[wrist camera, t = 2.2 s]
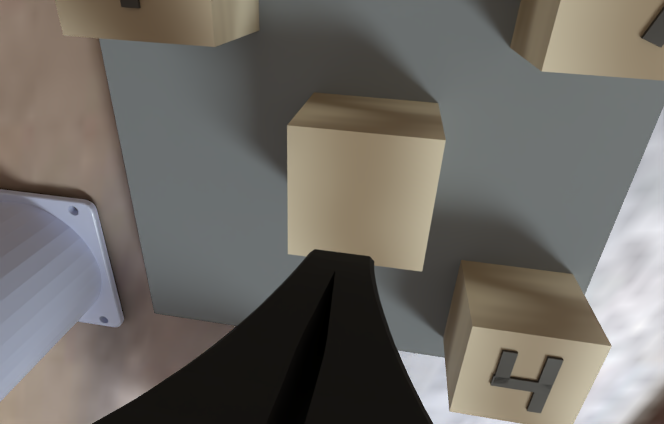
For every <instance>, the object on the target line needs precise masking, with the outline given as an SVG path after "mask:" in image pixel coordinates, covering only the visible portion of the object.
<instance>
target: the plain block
mask: <svg viewBox="0 0 664 424" xmlns="http://www.w3.org/2000/svg"><path fill="white" fill-rule="evenodd" d="M445 142H446V139H445V134H444V129H443V124H442V119H441V114H440V109H439V104H438V103H432V102H420V101H409V100H397V99H385V98H373V97H362V96H350V95H338V94H326V93H315V92H314V93H313V94H312V96H311V97H310V98H309V99H308V100H307V102H306V103H305V104H304V105H303V107H302V108H301V109H300V110H299V111H298V113H297V114H296V115H295V116H294V118H293V119H292V120H291V121H290V122H289V124H288V125H287V195H288V254H291V255H298V256H307V255H308V254H309V253H310V252H311V251H313V250H314V249H318V250H326V251H333V252H341V253H349V254H357V255H365V256H370V257H371V258H372V259H373V260H374V265H375V266H383V267H390V268H398V269H406V270H413V271H421V272H422V270H423V264H424V259H425V253H426V247H427V242H428V236H429V231H430V225H431V220H432V214H433V209H434V203H435V198H436V192H437V186H438V181H439V175H440V170H441V164H442V159H443V153H444V148H445Z"/></svg>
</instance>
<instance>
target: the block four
mask: <svg viewBox="0 0 664 424" xmlns="http://www.w3.org/2000/svg"><path fill="white" fill-rule="evenodd" d="M443 342H444V354H445V365H446V377H447V388H448V400H449V411H450V412H456V413H462V414H468V415H474V416H480V417H486V418H492V419H498V420H504V421H510V422H516V423H522V424H573V423H574V421H575V419H576V417H577V415H578V413H579V411H580V409H581V407H582V405H583V403H584V401H585V399H586V397H587V395H588V393H589V391H590V389H591V387H592V385H593V383H594V381H595V379H596V377H597V375H598V373H599V371H600V369H601V367H602V365H603V363H604V361H605V359H606V357H607V355H608V352H609V350H610V348H611V344H610V342H609V340H608V339H607V337H606V335H605V333H604V331H603V329H602V327H601V325H600V324H599V322H598V320H597V318H596V316H595V314H594V312H593V311H592V309H591V307H590V305H589V303H588V301H587V299H586V297H585V296H584V294H583V292H582V290H581V288H580V286H579V284H578V283H577V281H576V279H575V277H574V275H573V274H569V273H561V272H553V271H545V270H537V269H529V268H521V267H513V266H505V265H497V264H489V263H481V262H474V261H466V260H461V263H460V267H459V271H458V276H457V280H456V284H455V289H454V293H453V297H452V302H451V306H450V310H449V315H448V319H447V323H446V328H445V332H444V336H443Z"/></svg>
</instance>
